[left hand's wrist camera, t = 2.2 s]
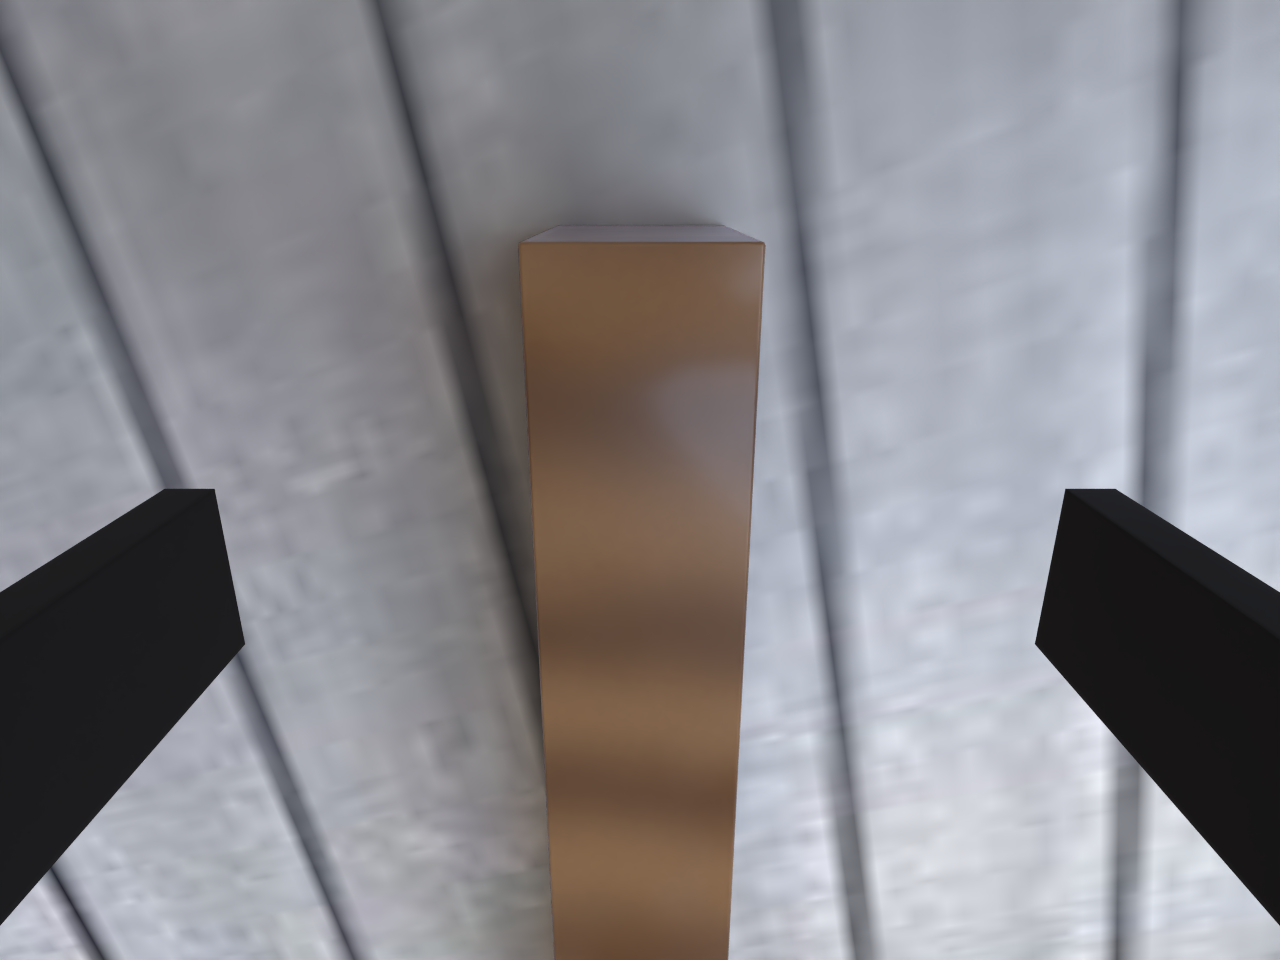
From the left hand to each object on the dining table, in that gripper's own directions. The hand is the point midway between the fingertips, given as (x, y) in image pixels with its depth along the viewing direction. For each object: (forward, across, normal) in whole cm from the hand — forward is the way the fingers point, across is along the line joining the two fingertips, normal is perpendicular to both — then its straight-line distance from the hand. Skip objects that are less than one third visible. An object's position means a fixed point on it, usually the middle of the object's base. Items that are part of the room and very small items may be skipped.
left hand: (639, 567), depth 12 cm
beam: (+13, 0, -26) cm, 29 cm away
